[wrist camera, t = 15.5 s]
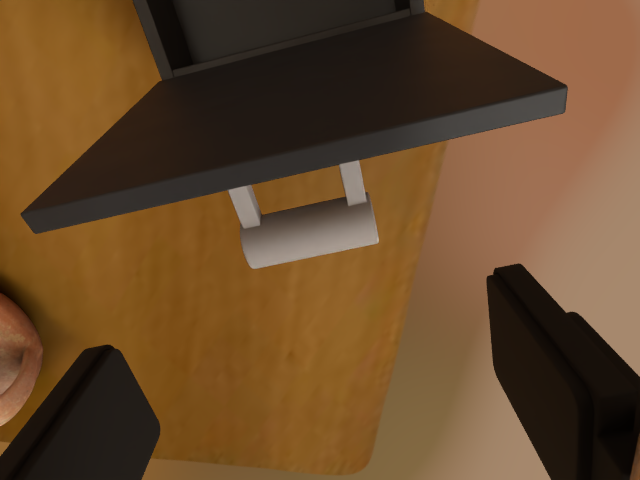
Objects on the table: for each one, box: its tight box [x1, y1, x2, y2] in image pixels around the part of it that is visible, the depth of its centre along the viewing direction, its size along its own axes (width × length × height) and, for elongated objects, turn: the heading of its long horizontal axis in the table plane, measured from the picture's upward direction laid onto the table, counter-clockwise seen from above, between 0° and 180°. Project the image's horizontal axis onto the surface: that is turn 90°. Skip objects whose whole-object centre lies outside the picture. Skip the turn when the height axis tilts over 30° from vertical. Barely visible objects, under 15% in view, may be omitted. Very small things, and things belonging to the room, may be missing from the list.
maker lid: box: [21, 12, 568, 269], centre depth 20 cm, size 15×16×5 cm
